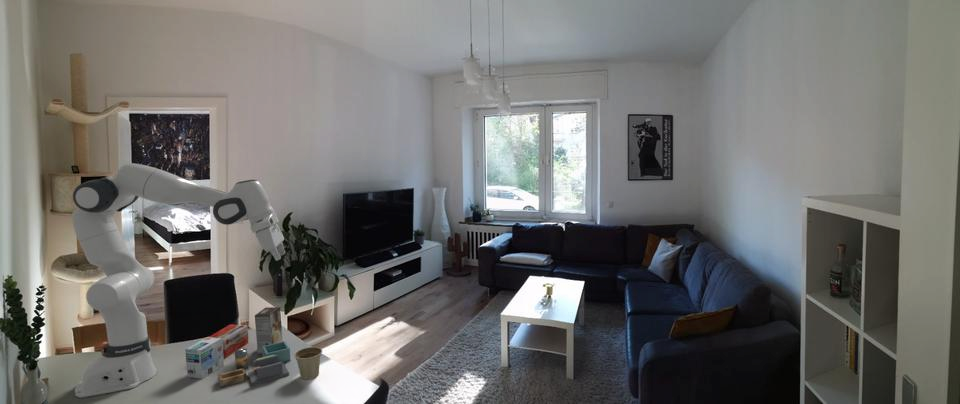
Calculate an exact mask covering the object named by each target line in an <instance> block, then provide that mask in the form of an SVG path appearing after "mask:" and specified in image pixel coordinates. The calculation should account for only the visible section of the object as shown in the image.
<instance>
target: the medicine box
mask: <svg viewBox="0 0 960 404" xmlns="http://www.w3.org/2000/svg"><path fill="white" fill-rule="evenodd" d="M248 328H249V327H248V325H245V324H244V325H243V324H232V323H231V324H228V325H226V326H225V327H223V328H222V329H220V330H218V331H216V332H215V333H213V334H212V335H210V336H209V337H211V338H222V345H223V359H224V360H225V359H227V358H229V357H230V356H232V355H233V354H235V351H236V350H238V349H241V348H244V347H245V346H246V345H248V344H249V329H248Z"/></svg>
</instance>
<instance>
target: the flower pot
mask: <svg viewBox="0 0 960 404" xmlns="http://www.w3.org/2000/svg"><path fill="white" fill-rule="evenodd" d="M322 353H323V349H322V348H321V347H318V346H310V347H305V348H301V349H299V350H297V351H296V352H295V353H294V354H293V356H294V358H295V360H296V363H297V365H298V371H299V376H300V378H301V379H305V380H310V379H314V378H316V377H317V376H319V374H320V364H321V358H322V357H321V356H322Z"/></svg>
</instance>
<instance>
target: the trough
mask: <svg viewBox="0 0 960 404" xmlns="http://www.w3.org/2000/svg"><path fill="white" fill-rule="evenodd" d="M247 376H248V375H247V371H246V370H245V369H244V368H242V369H238V370H236V369H235V370H231V371H228V372H224V373H219V374H218V381H219V385H220V388H224V387H227V386H231V385H234V384H239V383H242V382H245V381H247V380H248V377H247Z"/></svg>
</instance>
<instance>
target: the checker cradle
mask: <svg viewBox="0 0 960 404" xmlns="http://www.w3.org/2000/svg"><path fill="white" fill-rule="evenodd" d="M272 363H274V364H272ZM268 364H271V365H268ZM264 365H267V366H264ZM260 366H263V367H260ZM247 376H248V378H249V380H250V383H251V385H252V386H255V385H258V384H263V383H266V382H270V381H273V380H276V379H279V378H283V377H288V376H290V372H289V370H288V369H287V367H286V365H285V362H284V363H282V362H278V355H270V356H266V357H263V356H262V357H258V358H256V359H255V360H253V370H251V371H247Z"/></svg>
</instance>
